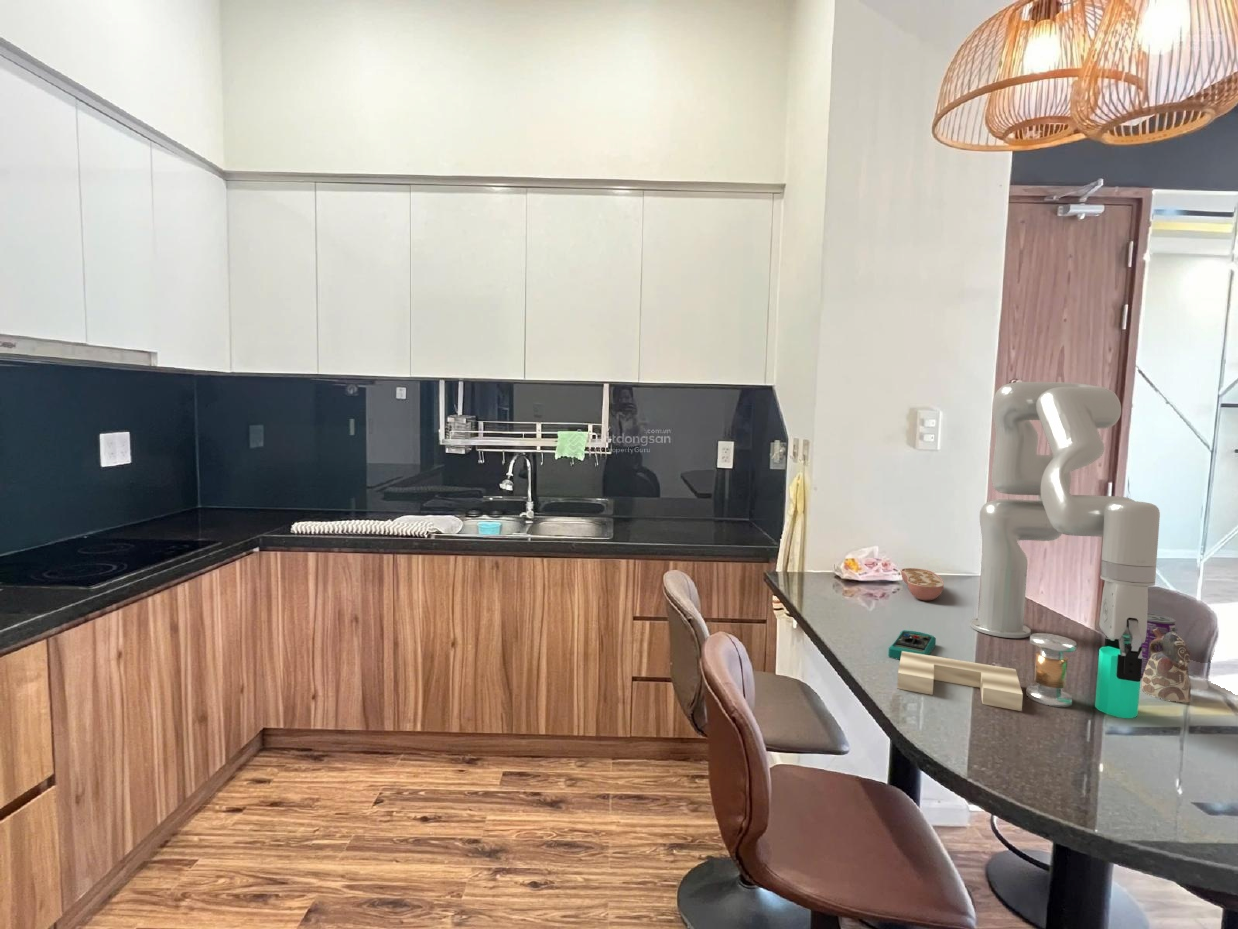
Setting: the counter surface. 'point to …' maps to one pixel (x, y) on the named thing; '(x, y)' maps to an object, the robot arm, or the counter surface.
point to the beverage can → (1153, 623)
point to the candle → (1115, 687)
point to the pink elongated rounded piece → (922, 583)
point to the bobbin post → (1051, 670)
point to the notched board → (961, 678)
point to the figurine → (1168, 668)
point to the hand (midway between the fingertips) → (1121, 670)
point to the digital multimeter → (912, 644)
